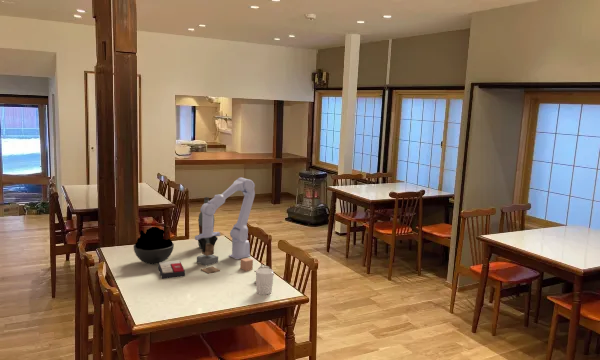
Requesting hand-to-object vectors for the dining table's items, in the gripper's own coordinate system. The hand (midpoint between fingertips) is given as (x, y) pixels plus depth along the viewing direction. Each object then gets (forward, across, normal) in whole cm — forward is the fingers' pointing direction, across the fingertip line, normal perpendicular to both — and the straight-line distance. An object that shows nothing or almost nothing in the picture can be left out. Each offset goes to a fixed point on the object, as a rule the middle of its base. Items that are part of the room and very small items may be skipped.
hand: (207, 250), depth 251 cm
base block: (+7, 0, 0) cm, 7 cm away
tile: (+6, +6, +12) cm, 15 cm away
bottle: (+6, -14, -23) cm, 28 cm away
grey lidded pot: (+6, -6, +40) cm, 41 cm away
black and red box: (+7, +23, +3) cm, 24 cm away
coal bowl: (+6, +23, -15) cm, 28 cm away
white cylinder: (+6, +3, +51) cm, 51 cm away
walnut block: (+2, 0, 0) cm, 2 cm away
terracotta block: (+6, -10, +21) cm, 24 cm away
